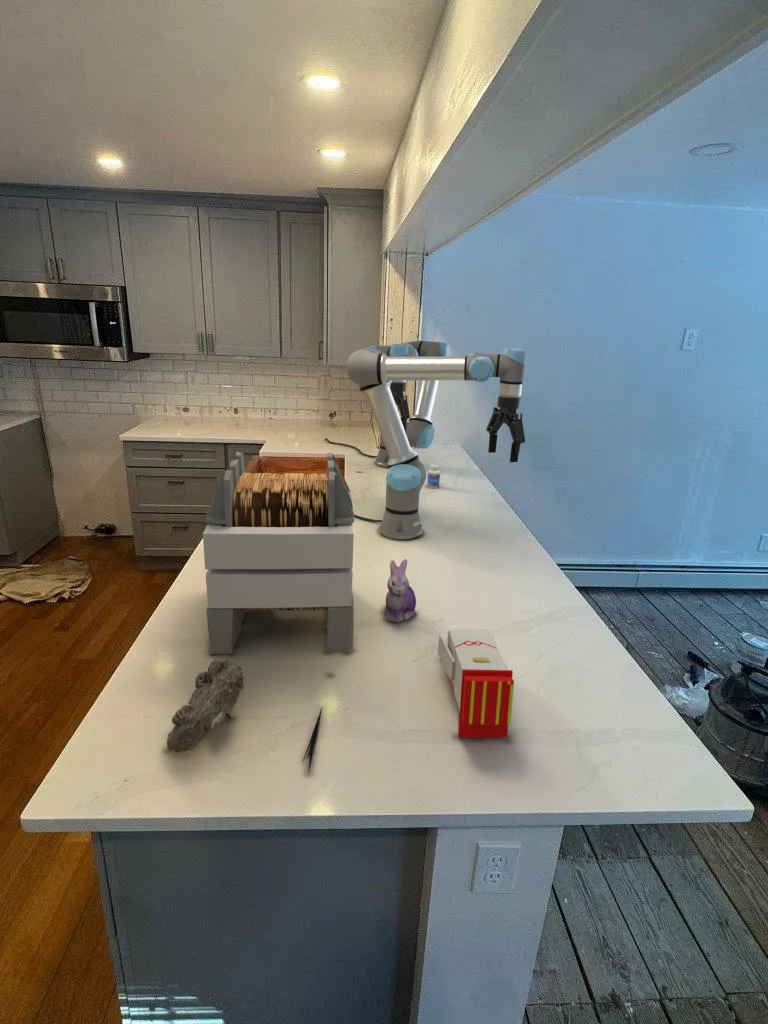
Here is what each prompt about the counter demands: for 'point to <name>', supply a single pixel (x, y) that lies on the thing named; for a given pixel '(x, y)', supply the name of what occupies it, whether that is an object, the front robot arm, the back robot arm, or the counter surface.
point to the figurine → (399, 594)
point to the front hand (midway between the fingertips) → (502, 457)
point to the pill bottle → (433, 476)
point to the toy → (478, 682)
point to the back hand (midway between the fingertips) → (395, 430)
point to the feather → (313, 740)
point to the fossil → (206, 705)
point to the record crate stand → (279, 550)
